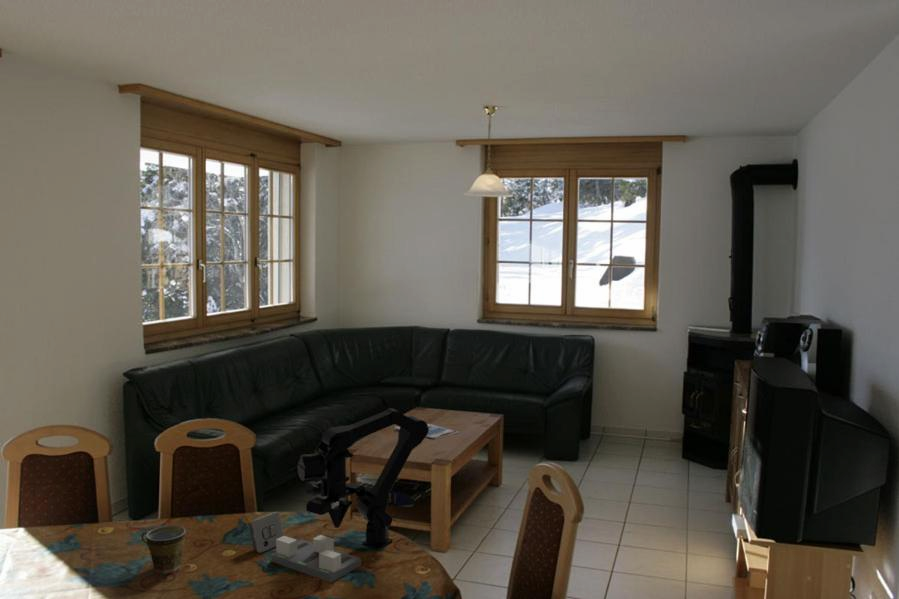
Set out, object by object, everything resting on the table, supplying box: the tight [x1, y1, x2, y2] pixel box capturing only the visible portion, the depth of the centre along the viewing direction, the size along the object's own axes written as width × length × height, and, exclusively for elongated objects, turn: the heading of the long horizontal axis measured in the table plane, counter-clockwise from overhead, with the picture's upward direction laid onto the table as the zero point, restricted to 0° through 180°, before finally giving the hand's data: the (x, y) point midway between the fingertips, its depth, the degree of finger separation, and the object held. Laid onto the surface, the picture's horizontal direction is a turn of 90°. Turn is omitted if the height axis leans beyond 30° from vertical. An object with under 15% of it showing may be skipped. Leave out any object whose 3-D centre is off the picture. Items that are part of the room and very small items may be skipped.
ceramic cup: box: [140, 525, 187, 575], centre depth 205 cm, size 13×10×10 cm
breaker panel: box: [270, 535, 362, 583], centre depth 208 cm, size 12×22×6 cm, turn 56°
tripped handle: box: [312, 534, 335, 553], centre depth 211 cm, size 3×5×4 cm, turn 56°
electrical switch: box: [248, 511, 285, 554], centre depth 219 cm, size 9×5×9 cm, turn 141°
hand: (336, 527), depth 215 cm, fingers closed
